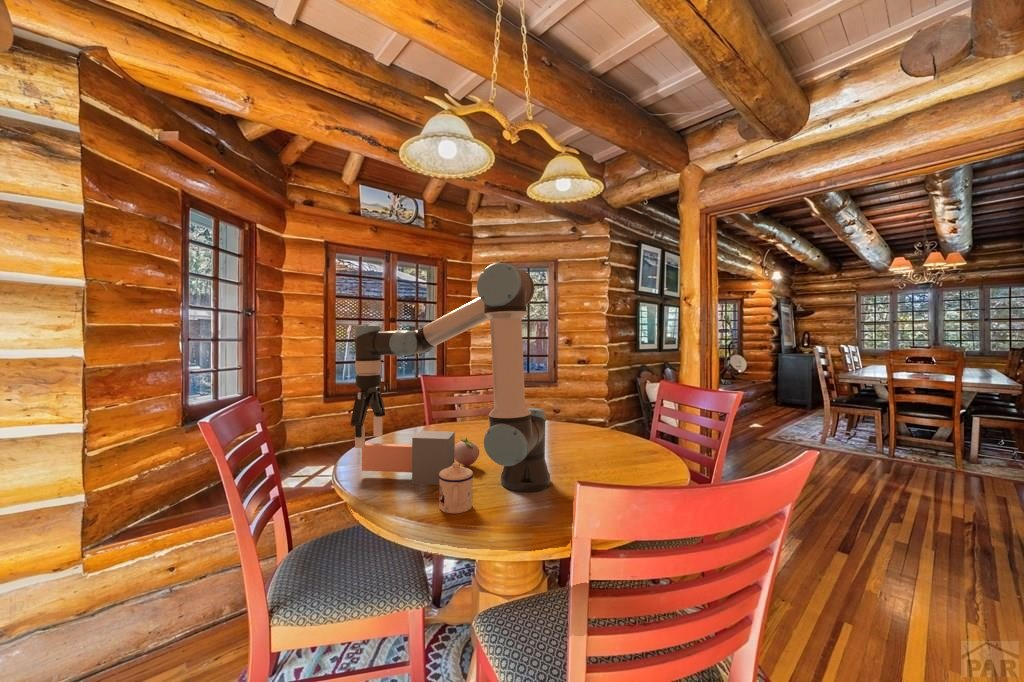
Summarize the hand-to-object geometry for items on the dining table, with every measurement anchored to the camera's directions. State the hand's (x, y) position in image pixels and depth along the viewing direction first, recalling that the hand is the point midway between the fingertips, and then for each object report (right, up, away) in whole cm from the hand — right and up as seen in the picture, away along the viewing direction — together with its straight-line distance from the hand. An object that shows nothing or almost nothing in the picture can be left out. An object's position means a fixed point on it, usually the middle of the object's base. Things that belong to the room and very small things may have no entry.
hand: (369, 441), depth 130 cm
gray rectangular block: (+20, -11, -1) cm, 23 cm away
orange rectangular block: (+6, -9, 0) cm, 11 cm away
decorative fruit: (+29, -11, +11) cm, 33 cm away
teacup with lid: (+30, -12, -22) cm, 39 cm away
